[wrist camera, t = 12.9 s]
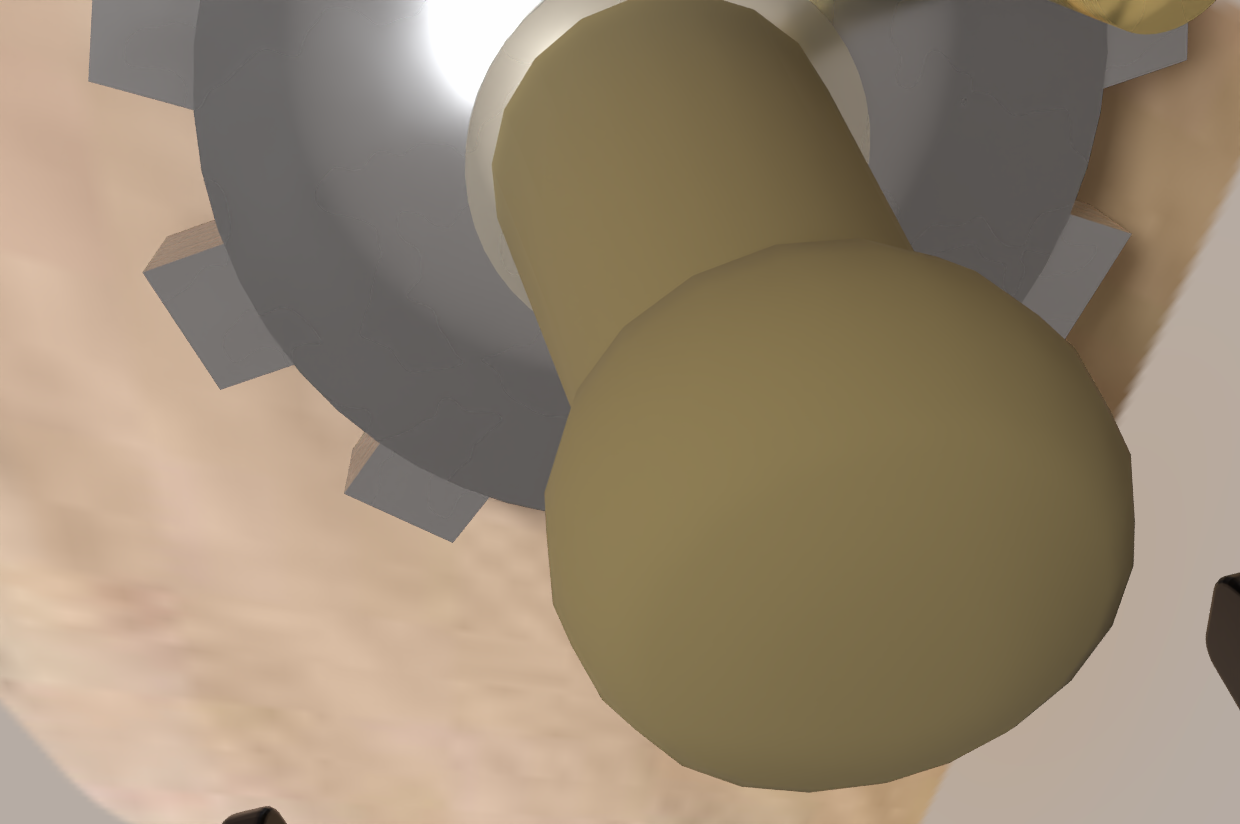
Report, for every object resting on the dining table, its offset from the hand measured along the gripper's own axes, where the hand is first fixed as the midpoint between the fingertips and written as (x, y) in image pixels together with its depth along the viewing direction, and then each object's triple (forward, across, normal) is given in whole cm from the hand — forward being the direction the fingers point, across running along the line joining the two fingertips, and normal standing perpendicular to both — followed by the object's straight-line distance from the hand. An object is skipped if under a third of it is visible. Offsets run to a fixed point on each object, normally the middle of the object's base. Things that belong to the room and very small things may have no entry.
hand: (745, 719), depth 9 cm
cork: (+10, -1, -2) cm, 10 cm away
